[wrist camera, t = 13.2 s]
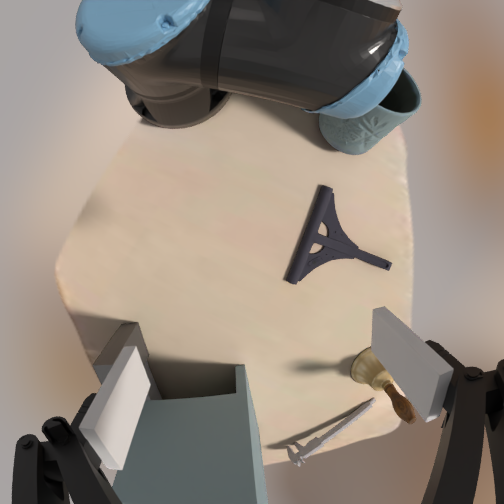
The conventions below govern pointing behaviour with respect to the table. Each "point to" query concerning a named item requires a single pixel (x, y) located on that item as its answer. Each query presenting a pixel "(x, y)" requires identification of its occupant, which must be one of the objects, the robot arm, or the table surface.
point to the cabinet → (195, 452)
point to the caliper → (326, 435)
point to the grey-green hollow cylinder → (373, 119)
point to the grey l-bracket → (109, 355)
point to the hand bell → (381, 383)
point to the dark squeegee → (327, 241)
